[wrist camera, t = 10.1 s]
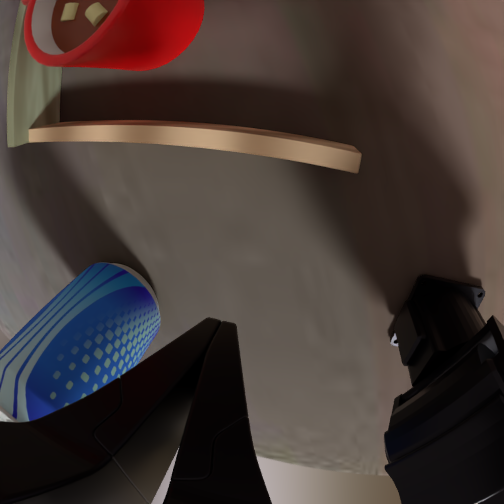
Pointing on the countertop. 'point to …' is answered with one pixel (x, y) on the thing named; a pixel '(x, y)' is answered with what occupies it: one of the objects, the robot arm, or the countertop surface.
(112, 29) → the mug
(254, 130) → the wooden box
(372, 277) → the countertop surface
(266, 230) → the countertop surface
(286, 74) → the countertop surface
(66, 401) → the beer can
